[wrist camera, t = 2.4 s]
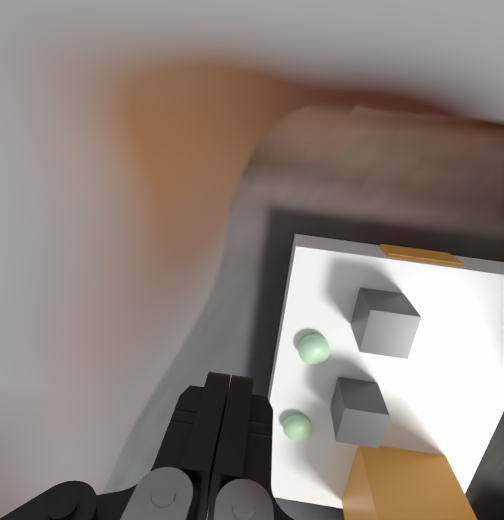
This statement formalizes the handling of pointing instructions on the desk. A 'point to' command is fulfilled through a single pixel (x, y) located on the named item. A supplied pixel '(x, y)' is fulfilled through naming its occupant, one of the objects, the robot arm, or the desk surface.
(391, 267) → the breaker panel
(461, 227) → the desk surface
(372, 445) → the block
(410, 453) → the orange cube
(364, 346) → the block
